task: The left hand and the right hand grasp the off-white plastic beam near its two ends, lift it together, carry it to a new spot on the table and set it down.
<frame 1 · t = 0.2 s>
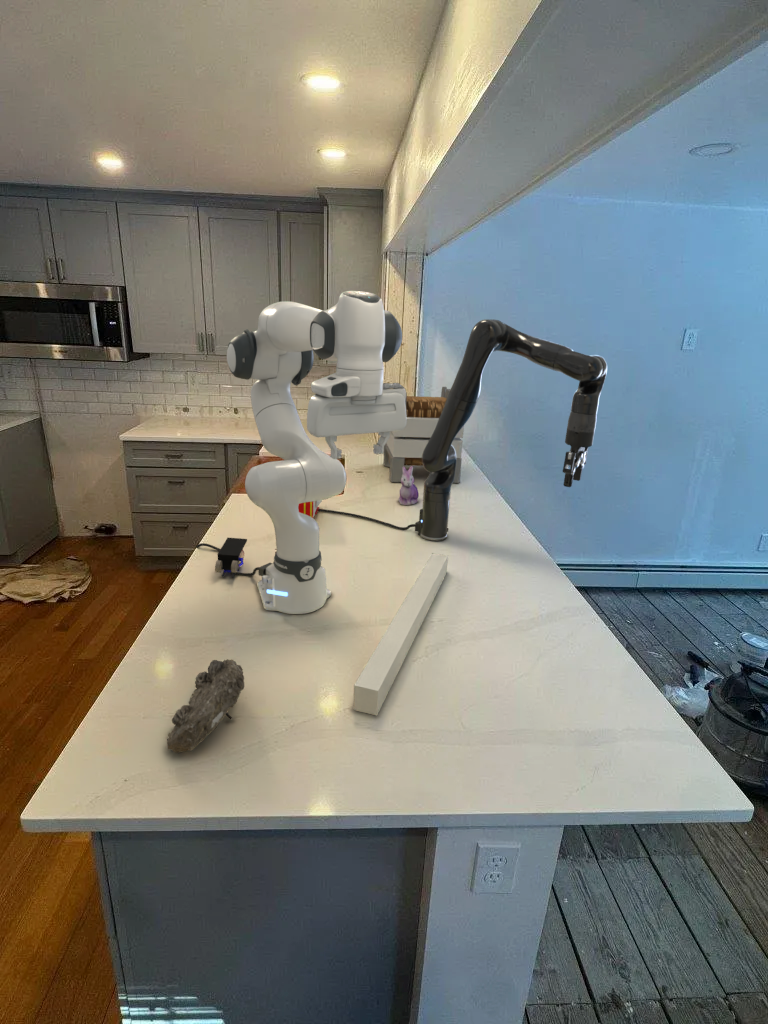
left hand: (357, 455, 111), 47 cm above the counter, tool pointing down, fingers open, 8 cm apart
right hand: (571, 483, 166), 29 cm above the counter, tool pointing down, fingers open, 8 cm apart
fossil: (212, 717, 108), on the counter
figurine: (408, 502, 233), on the counter
grey wooden crate: (419, 473, 275), on the counter
beam: (409, 627, 142), on the counter
black wheeled block: (232, 569, 168), on the counter
toy: (303, 518, 211), on the counter
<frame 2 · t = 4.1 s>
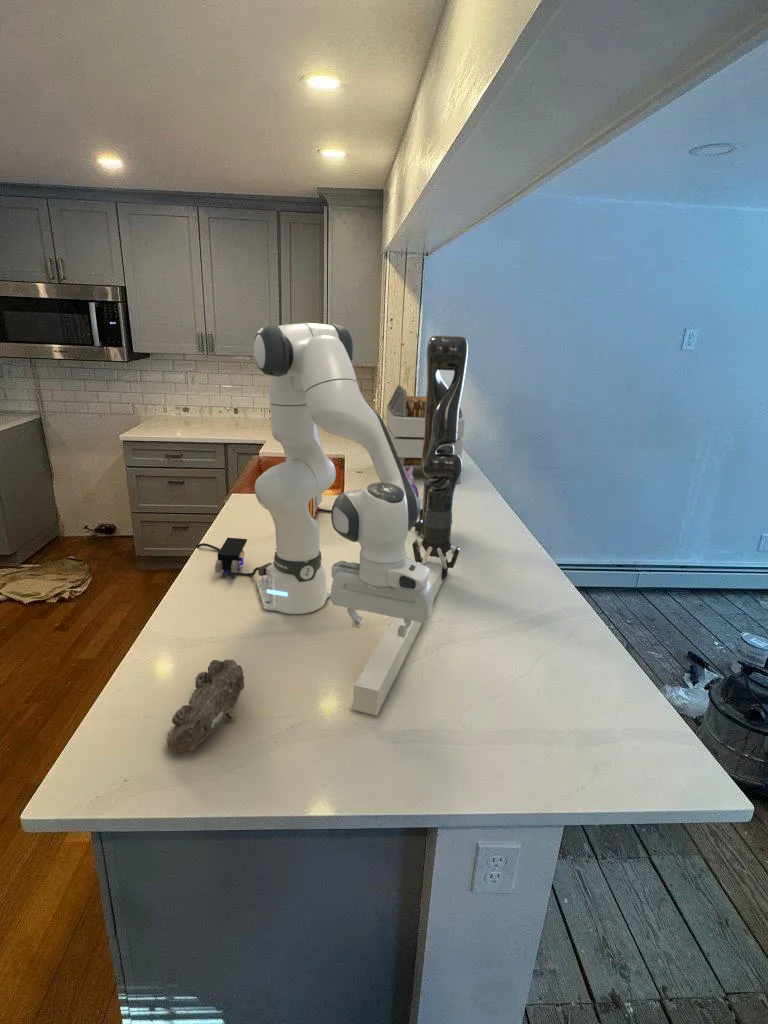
left hand: (379, 630, 113), 14 cm above the counter, tool pointing down, fingers open, 8 cm apart
right hand: (433, 577, 165), 2 cm above the counter, tool pointing down, fingers closed on beam, 5 cm apart
beam: (409, 627, 142), on the counter, touching right hand
everything else where it was.
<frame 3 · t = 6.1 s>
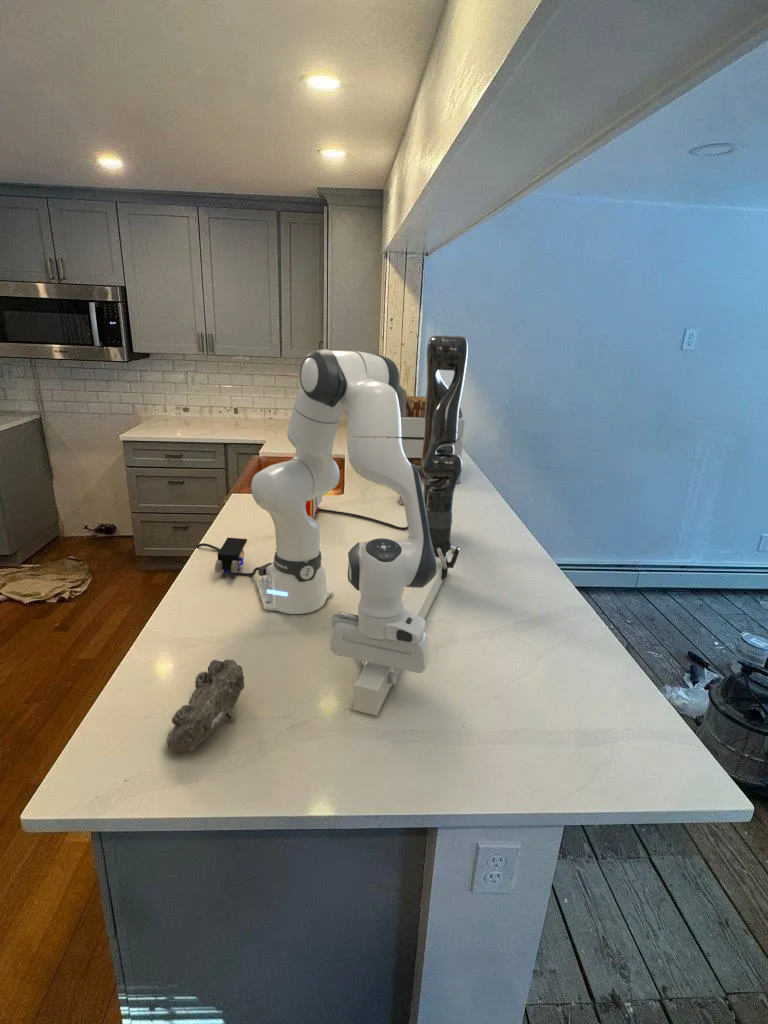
left hand: (377, 678, 117), 3 cm above the counter, tool pointing down, fingers closed on beam, 5 cm apart
right hand: (433, 577, 165), 2 cm above the counter, tool pointing down, fingers closed on beam, 5 cm apart
beam: (409, 627, 142), on the counter, touching right hand, left hand
everything else where it was.
when the left hand's fingers open (4 cm above the counter, at t = 12.0 s): beam drops 1 cm, on the counter.
when the right hand's fingers open (3 cm above the counter, at t = 12.0 s): beam drops 1 cm, on the counter.
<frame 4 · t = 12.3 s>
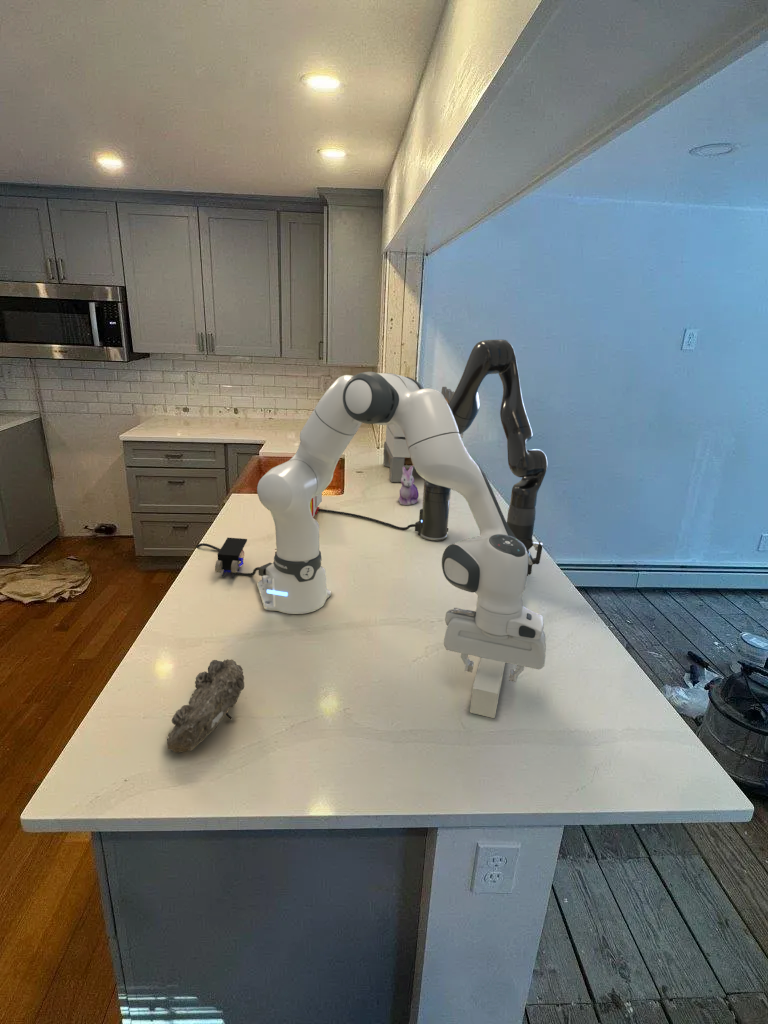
left hand: (490, 675, 116), 5 cm above the counter, tool pointing down, fingers open, 8 cm apart
right hand: (513, 572, 165), 4 cm above the counter, tool pointing down, fingers open, 7 cm apart
beam: (501, 629, 142), on the counter
everything else where it was.
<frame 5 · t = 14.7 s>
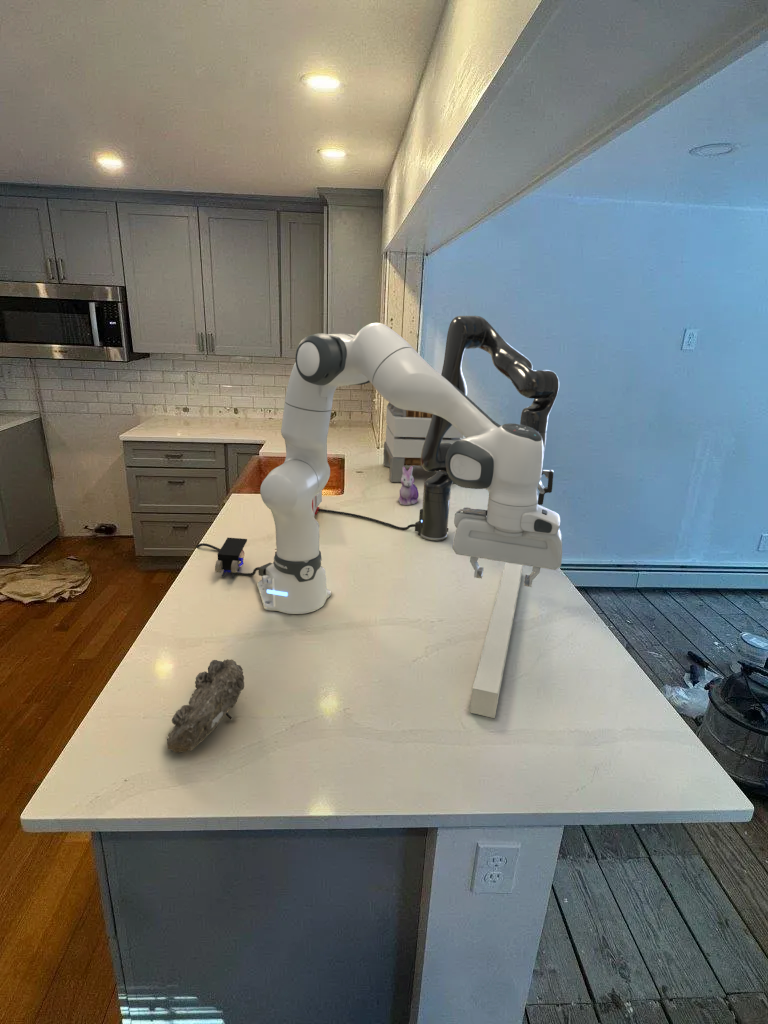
left hand: (502, 581, 109), 26 cm above the counter, tool pointing down, fingers open, 8 cm apart
right hand: (523, 503, 157), 25 cm above the counter, tool pointing down, fingers open, 8 cm apart
nothing on the counter moved.
at the end: beam inside the target area (0.6 cm from its centre), on the counter; beam tilted 0°; beam never tilted more than 1° during the clip; both hands held the beam at the same time; the left hand is holding nothing; the right hand is holding nothing; beam at rest at the end (0.0 cm/s) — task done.
